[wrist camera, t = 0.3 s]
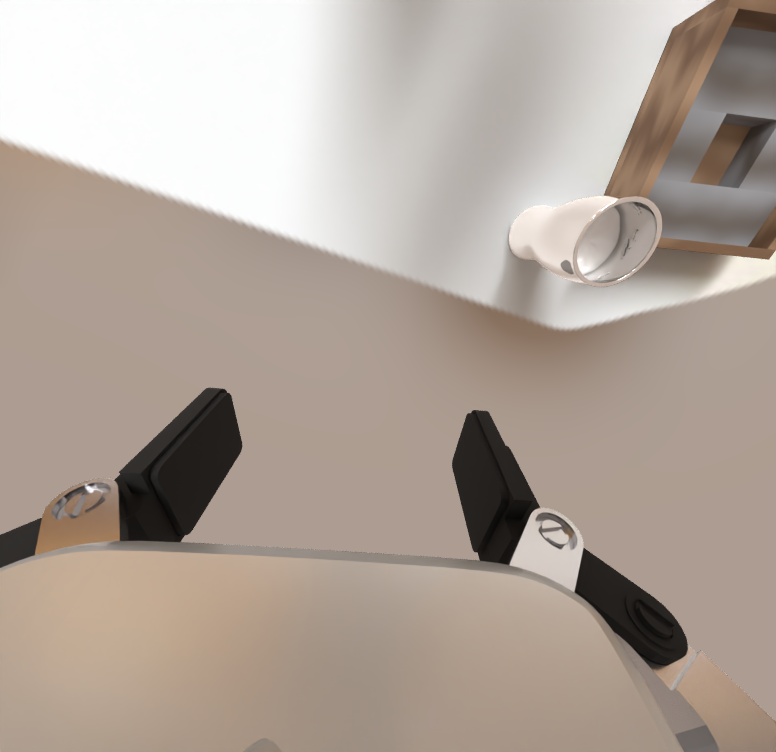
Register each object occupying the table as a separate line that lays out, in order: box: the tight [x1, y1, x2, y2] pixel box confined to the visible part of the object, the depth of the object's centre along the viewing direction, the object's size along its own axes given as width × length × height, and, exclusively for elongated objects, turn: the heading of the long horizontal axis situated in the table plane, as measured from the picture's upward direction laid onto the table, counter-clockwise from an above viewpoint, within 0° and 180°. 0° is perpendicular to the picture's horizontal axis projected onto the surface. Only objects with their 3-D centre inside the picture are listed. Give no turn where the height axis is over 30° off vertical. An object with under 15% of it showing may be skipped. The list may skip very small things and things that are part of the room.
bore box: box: [604, 0, 776, 259], centre depth 29 cm, size 18×18×6 cm
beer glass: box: [509, 196, 662, 287], centre depth 28 cm, size 7×7×15 cm
